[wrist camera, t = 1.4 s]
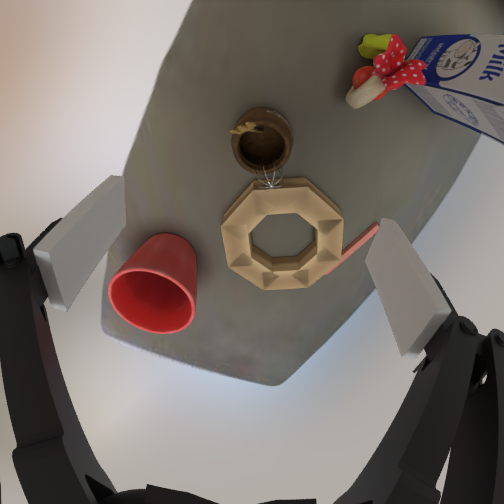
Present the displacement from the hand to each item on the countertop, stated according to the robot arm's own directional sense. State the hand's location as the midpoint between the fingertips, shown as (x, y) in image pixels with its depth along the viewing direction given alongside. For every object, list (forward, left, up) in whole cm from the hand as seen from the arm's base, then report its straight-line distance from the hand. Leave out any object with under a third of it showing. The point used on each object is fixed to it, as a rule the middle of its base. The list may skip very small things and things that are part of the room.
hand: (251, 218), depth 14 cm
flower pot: (+21, +1, -20) cm, 29 cm away
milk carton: (-19, +9, -20) cm, 29 cm away
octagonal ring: (+8, +10, -20) cm, 23 cm away
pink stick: (+4, +19, -20) cm, 27 cm away
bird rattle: (-13, +4, -20) cm, 24 cm away
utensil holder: (0, 0, -20) cm, 20 cm away
